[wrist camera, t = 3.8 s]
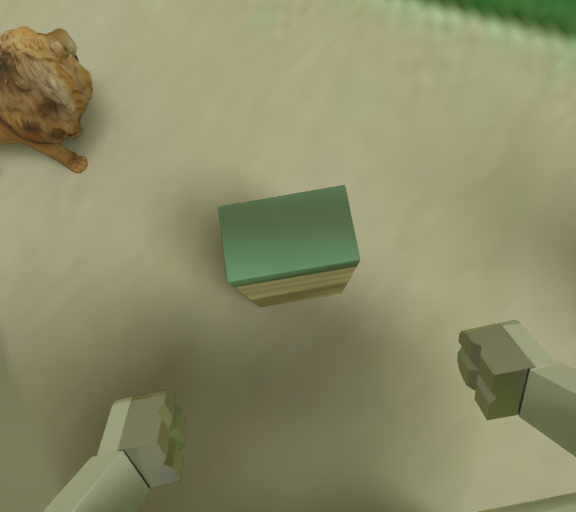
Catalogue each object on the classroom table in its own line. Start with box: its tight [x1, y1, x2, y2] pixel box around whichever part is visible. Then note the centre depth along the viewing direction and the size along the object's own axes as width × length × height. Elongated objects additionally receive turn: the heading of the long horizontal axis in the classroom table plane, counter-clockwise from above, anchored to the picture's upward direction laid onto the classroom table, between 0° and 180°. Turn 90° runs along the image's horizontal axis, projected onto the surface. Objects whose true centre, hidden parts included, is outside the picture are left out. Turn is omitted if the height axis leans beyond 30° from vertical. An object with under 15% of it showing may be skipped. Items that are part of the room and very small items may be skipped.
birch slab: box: [218, 185, 360, 307], centre depth 20 cm, size 3×5×10 cm, turn 99°
